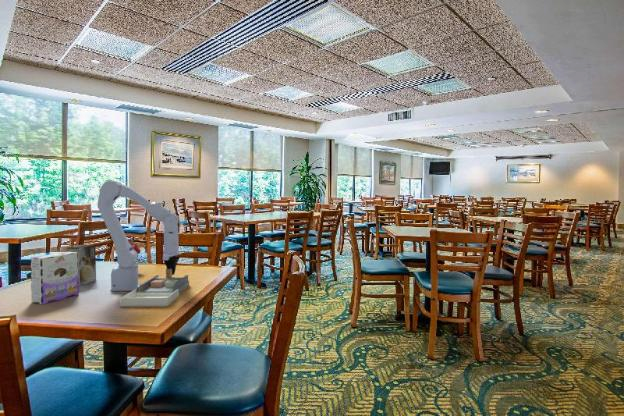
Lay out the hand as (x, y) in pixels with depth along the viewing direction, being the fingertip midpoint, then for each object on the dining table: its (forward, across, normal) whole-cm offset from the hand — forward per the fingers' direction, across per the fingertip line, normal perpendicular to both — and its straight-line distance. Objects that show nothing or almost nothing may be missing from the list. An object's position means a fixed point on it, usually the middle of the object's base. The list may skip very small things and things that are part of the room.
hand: (171, 274), depth 158 cm
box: (+5, -22, 0) cm, 23 cm away
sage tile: (+3, -8, -3) cm, 9 cm away
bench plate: (+5, -8, 0) cm, 9 cm away
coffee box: (+5, +6, +40) cm, 41 cm away
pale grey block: (+2, -3, 0) cm, 4 cm away
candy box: (+5, -18, +36) cm, 41 cm away
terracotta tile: (+3, -8, +3) cm, 9 cm away
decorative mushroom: (+5, +26, +28) cm, 39 cm away
